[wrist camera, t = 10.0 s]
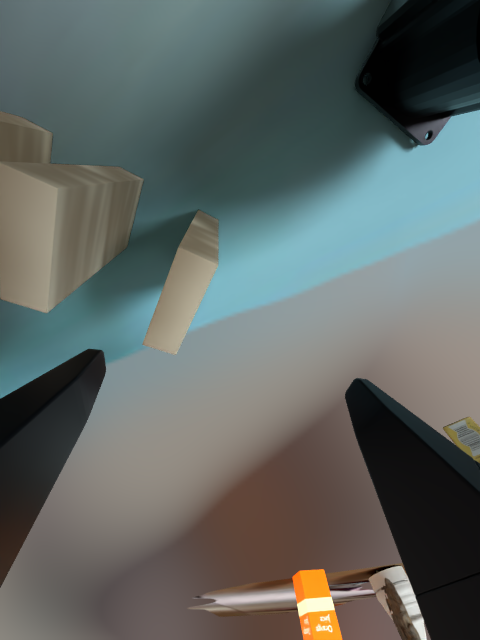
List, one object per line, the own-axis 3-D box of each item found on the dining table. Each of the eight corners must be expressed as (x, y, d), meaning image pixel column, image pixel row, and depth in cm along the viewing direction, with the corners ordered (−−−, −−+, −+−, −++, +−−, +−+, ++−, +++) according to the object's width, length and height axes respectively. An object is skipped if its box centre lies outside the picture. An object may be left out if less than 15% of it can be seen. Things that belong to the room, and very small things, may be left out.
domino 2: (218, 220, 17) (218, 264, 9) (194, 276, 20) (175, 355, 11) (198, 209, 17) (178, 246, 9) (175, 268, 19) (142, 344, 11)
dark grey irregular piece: (384, 572, 88) (426, 665, 72) (371, 575, 89) (411, 669, 72) (386, 563, 81) (434, 665, 64) (372, 566, 81) (417, 669, 64)
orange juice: (299, 570, 77) (322, 683, 60) (324, 569, 78) (353, 678, 61) (292, 577, 81) (311, 684, 64) (315, 575, 82) (340, 679, 65)
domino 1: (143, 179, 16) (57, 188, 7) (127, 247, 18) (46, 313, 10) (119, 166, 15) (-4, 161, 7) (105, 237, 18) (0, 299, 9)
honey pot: (408, 563, 84) (457, 648, 69) (388, 576, 90) (429, 657, 75) (381, 569, 80) (425, 660, 65) (362, 582, 86) (399, 668, 71)
